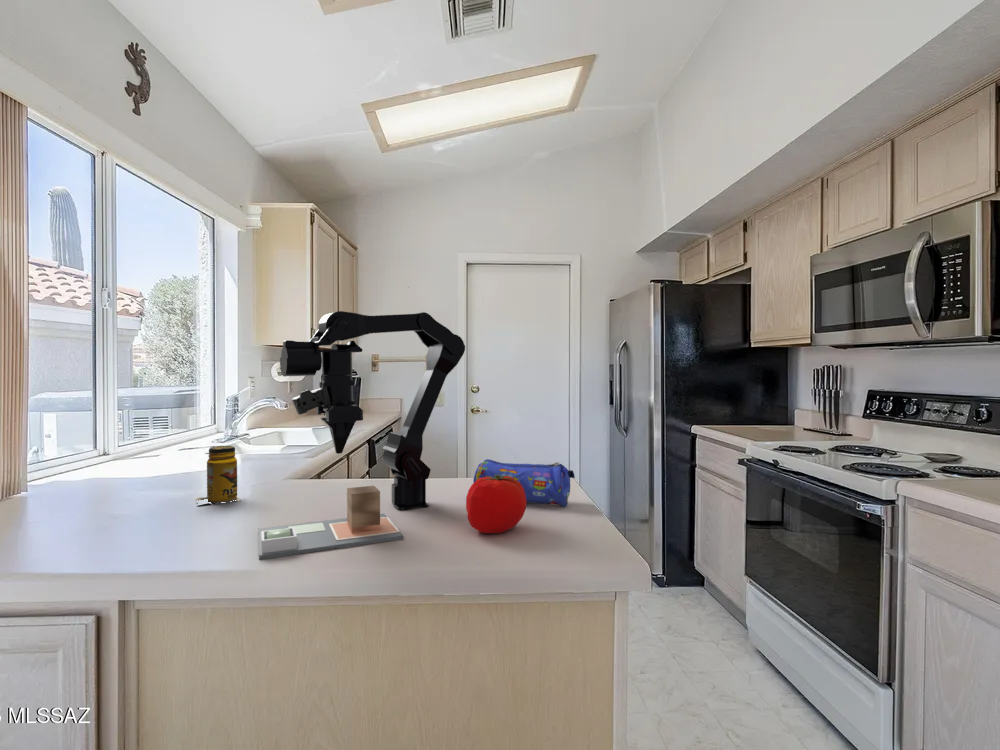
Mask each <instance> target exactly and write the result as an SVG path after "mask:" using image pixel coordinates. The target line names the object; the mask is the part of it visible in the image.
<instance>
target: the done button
mask: <svg viewBox="0 0 1000 750" xmlns="http://www.w3.org/2000/svg"><path fill="white" fill-rule="evenodd" d="M282 537H290V530H289V529H275V530H271V531H269V532H267V539H274V538H282Z"/></svg>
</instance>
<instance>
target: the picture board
mask: <svg viewBox="0 0 1000 750" xmlns="http://www.w3.org/2000/svg"><path fill="white" fill-rule="evenodd" d="M275 529H289V530H290V537H282V538H274V539H267V532H269V531H271V530H275ZM257 531H258V532H257V534H258V537H259V538H258V560H265V559H271V558H279V557H285V556H291V555H292V556H294V555H300V554H305V553H307V552H308V553H314V551H315V552H321V551H320V550H322V551H326V549H329V550H335V549H334V548H336V549H343V548H350V547H355V546H356V547H357V546H363V545H364V546H365V545H369V544H378V543H385V542H391V541H399V540H404V535H403V534H402V532H401V531H400V529H399V528H398V527H397V526H396V524H395V523H394V522H393V521H392V520H391V519H390V518H389V516H387V515H386V514H385V513H380V530H376V531H368V532H360V533H353V534H352V533H351V531H350V530H349V528H348V526H347V517H344V518H334V519H327V520H326V519H325V520H318V521H310V522H301V523H292V524H285V525H284V524H283V525H276V526H275V525H274V526H268V527H267V526H266V527H259V528H257ZM342 547H343V548H342Z"/></svg>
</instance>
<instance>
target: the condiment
mask: <svg viewBox="0 0 1000 750" xmlns="http://www.w3.org/2000/svg"><path fill="white" fill-rule="evenodd" d="M194 499H195V502H196V501H197V500H198V501H199V500H204V499H208V502H211V503H221V502H230V501H233V500H234V501H235V500H236V501H238V502H241V499H240V497H239V495H238V459H237V457H236V447H235V446H233V445H217V446H212V447H210V448H208V459H207V461H206V497H205V496H204V497H203V496H201V497H195V498H194ZM230 503H231V502H230Z"/></svg>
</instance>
